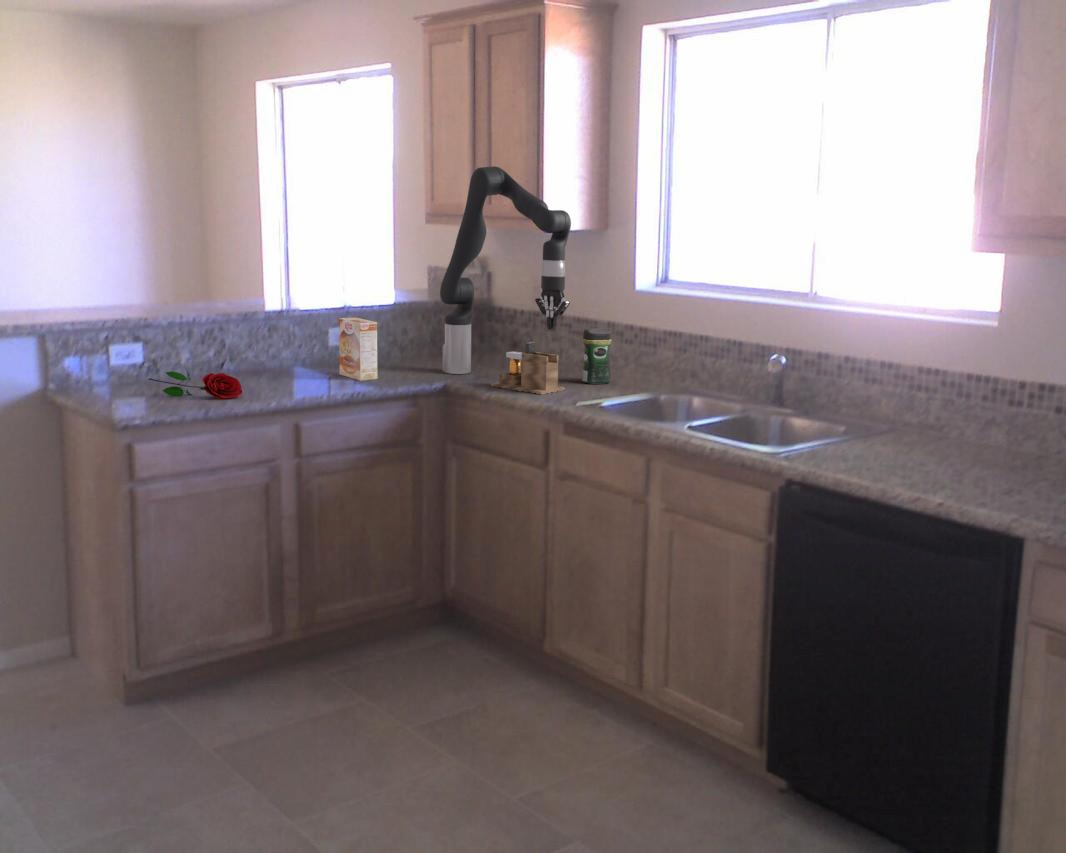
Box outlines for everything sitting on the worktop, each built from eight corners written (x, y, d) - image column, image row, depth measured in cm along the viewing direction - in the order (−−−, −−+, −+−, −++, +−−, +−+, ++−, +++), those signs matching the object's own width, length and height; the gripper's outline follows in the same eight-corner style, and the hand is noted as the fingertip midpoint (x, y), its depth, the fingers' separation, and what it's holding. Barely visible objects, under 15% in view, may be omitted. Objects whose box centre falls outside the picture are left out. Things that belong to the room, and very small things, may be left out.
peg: (514, 384, 372) (515, 359, 370) (506, 382, 374) (507, 358, 373) (522, 383, 374) (523, 359, 373) (514, 381, 377) (515, 357, 375)
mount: (491, 386, 373) (491, 350, 371) (515, 382, 382) (515, 347, 380) (540, 394, 360) (541, 357, 357) (564, 390, 369) (565, 354, 366)
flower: (144, 359, 340) (240, 370, 339) (155, 369, 349) (249, 380, 348) (137, 387, 338) (234, 399, 336) (148, 396, 347) (243, 408, 345)
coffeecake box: (338, 374, 389) (338, 317, 385) (357, 372, 393) (356, 316, 389) (359, 380, 377) (359, 322, 373) (378, 379, 382) (378, 321, 378)
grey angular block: (506, 357, 373) (506, 340, 372) (512, 356, 375) (513, 339, 374) (533, 361, 365) (534, 344, 364) (540, 360, 368) (541, 343, 367)
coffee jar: (605, 380, 390) (607, 326, 386) (613, 384, 383) (615, 329, 379) (578, 380, 388) (580, 326, 384) (585, 384, 380) (587, 329, 376)
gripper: (529, 273, 358) (528, 327, 362) (562, 276, 350) (560, 332, 354) (544, 272, 364) (543, 326, 368) (577, 275, 356) (575, 330, 359)
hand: (551, 329), depth 361 cm, fingers closed
